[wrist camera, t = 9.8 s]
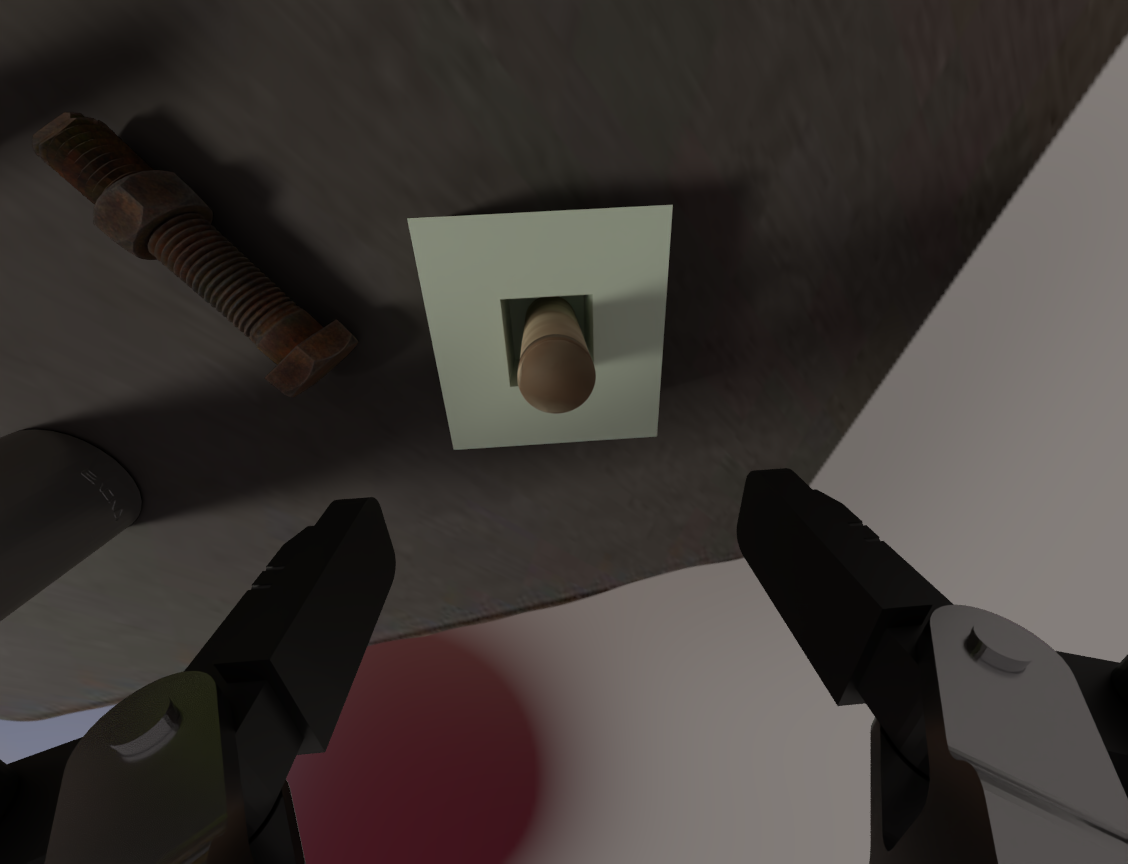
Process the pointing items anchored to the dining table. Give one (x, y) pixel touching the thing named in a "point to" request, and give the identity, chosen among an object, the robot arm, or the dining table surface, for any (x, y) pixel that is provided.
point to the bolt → (189, 247)
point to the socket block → (509, 286)
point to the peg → (554, 358)
